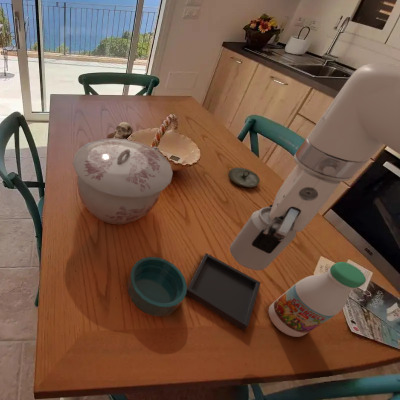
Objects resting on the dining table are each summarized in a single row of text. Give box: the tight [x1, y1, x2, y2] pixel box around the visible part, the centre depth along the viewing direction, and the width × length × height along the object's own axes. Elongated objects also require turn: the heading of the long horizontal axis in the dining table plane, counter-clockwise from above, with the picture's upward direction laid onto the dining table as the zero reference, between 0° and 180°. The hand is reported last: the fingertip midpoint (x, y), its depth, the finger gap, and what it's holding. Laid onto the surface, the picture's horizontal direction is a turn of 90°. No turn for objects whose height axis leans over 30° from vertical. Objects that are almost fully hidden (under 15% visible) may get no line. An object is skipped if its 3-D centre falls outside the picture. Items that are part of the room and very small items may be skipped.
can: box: [229, 206, 298, 271], centre depth 52 cm, size 8×8×12 cm
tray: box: [185, 252, 262, 331], centre depth 65 cm, size 14×14×2 cm
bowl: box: [126, 256, 188, 317], centre depth 63 cm, size 13×13×5 cm
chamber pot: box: [72, 138, 174, 226], centre depth 78 cm, size 28×28×21 cm
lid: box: [228, 167, 261, 188], centre depth 98 cm, size 11×10×5 cm
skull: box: [106, 121, 134, 139], centre depth 115 cm, size 12×10×10 cm
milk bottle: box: [268, 261, 367, 338], centre depth 54 cm, size 8×8×20 cm
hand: (265, 234), depth 51 cm, fingers closed on can, 7 cm apart
